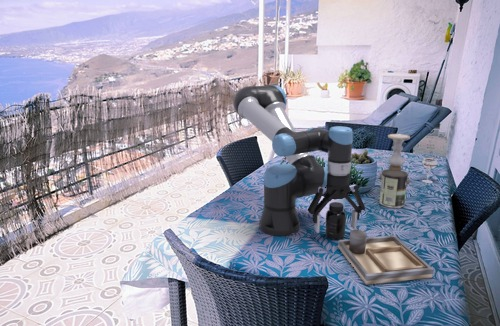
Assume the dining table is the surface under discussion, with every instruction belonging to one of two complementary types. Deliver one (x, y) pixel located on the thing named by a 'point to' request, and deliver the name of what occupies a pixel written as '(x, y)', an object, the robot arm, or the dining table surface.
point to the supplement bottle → (335, 221)
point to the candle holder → (397, 152)
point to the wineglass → (429, 166)
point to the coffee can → (393, 188)
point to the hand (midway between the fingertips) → (335, 229)
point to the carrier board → (383, 258)
